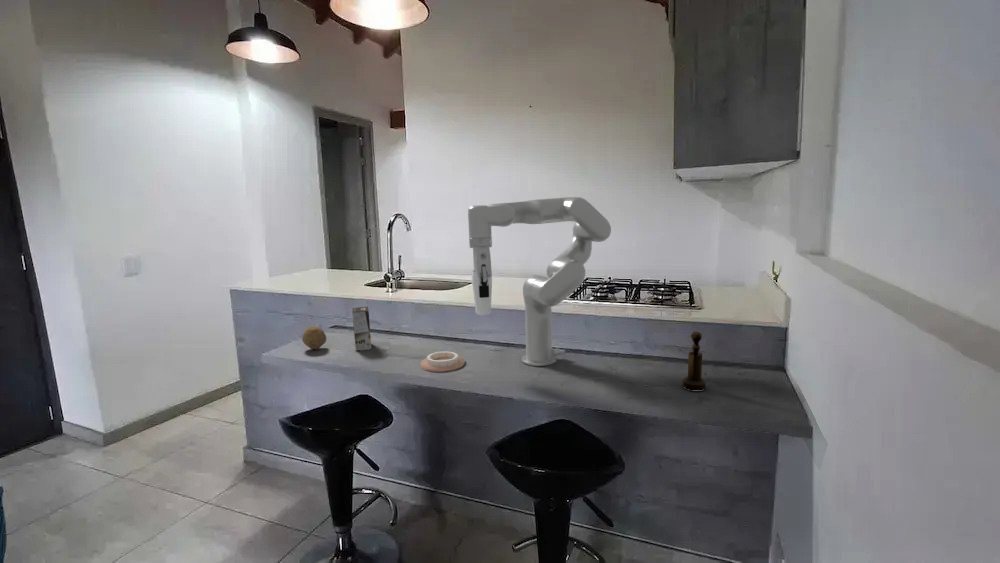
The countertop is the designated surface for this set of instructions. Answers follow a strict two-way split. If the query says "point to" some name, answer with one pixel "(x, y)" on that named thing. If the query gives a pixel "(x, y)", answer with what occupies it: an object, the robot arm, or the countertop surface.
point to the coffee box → (361, 328)
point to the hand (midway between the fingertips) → (482, 294)
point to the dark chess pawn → (695, 366)
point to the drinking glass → (481, 303)
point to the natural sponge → (314, 337)
